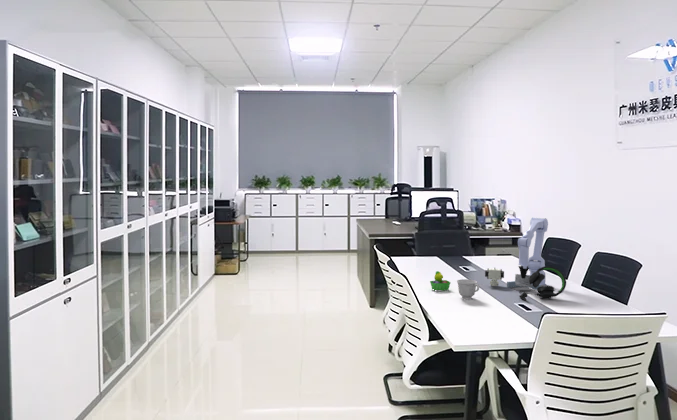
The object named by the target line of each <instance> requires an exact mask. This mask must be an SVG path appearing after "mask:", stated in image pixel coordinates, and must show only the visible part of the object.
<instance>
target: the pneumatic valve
mask: <svg viewBox="0 0 677 420" xmlns="http://www.w3.org/2000/svg"><path fill="white" fill-rule="evenodd" d="M502 269H503V268H496V267H493V268H490V267H489V268H487V269H485V271H484V277H485V278H486V279H487V280H490V281H489V285H490V286H492V287H498V286H499V282H500V281H502V279H504V278H505V271H504V270H502ZM498 280H499V281H498Z"/></svg>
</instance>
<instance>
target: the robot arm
mask: <svg viewBox="0 0 677 420" xmlns="http://www.w3.org/2000/svg"><path fill="white" fill-rule="evenodd" d="M529 225H530V226H529V228H528V229H527V230H526V231H524V233H523V235H522V236H521V237H519V238H518V239H517V246H518V266H517V267H518V269H519V272H520V273H519V274H521V277H522V278H526V275H528V274H527V273H528V271H529V275H532V274H533V273H534V272H536V271H537V270H538V269H539V268H542V267H545V266H546V265H545V264H546V260H545V259H544V258H543V257H542V252H543V244H544V237H545V233H546V232H548V227H549V222H548V218H540V217H531V218H530V221H529ZM534 236H535V239H534V246H533V247H534V248H533V254H532V256H530V255H529V254H530V247H531V244H532V240H533V238H534ZM529 256H530V257H529ZM539 273H540V274H543V275H545V278H544V279H543V280H542V281H541V283H540V284H539V285H541V286H547V283H546V272H545V270H542V271H540V272H539Z"/></svg>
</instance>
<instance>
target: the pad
mask: <svg viewBox="0 0 677 420" xmlns="http://www.w3.org/2000/svg"><path fill="white" fill-rule="evenodd" d="M510 289H512V290H514V291H518V292H520V293H524V292H526V293H530V292H538V291H537V290H535V289H532V288H529V287H526V286H520V287H510Z"/></svg>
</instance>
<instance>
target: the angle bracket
mask: <svg viewBox="0 0 677 420" xmlns="http://www.w3.org/2000/svg"><path fill="white" fill-rule="evenodd" d="M514 275H515V276H514V281H515V285H516V286H520V287H522V286H524V287H526V286H527V288H529V287H533V285H532V284H529V278H530V276H531V275H530V274H526V278H522V277H521V273H519V274H518V273H515V274H514Z"/></svg>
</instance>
